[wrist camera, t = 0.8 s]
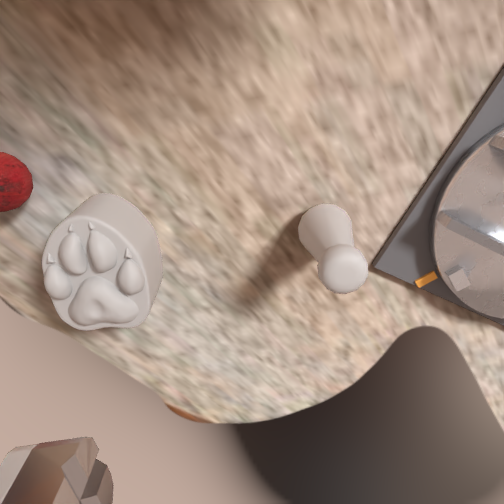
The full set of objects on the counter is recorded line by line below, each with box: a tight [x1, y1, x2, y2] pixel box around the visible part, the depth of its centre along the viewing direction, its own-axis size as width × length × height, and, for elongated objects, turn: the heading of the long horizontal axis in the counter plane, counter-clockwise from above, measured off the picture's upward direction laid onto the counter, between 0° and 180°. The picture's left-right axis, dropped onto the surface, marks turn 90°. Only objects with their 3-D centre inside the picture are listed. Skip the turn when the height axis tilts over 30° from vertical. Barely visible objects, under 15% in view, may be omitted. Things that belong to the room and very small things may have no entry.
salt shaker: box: [298, 203, 368, 294], centre depth 41 cm, size 6×6×13 cm
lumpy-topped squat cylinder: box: [42, 193, 163, 331], centre depth 44 cm, size 10×13×9 cm
